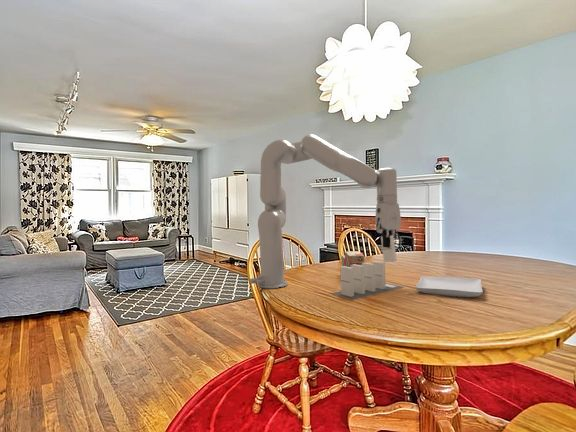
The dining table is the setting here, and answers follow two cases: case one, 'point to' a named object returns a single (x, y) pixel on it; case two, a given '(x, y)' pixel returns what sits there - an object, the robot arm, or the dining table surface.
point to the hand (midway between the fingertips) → (388, 246)
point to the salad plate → (450, 286)
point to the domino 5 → (389, 251)
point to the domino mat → (368, 293)
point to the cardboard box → (352, 258)
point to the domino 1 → (347, 281)
